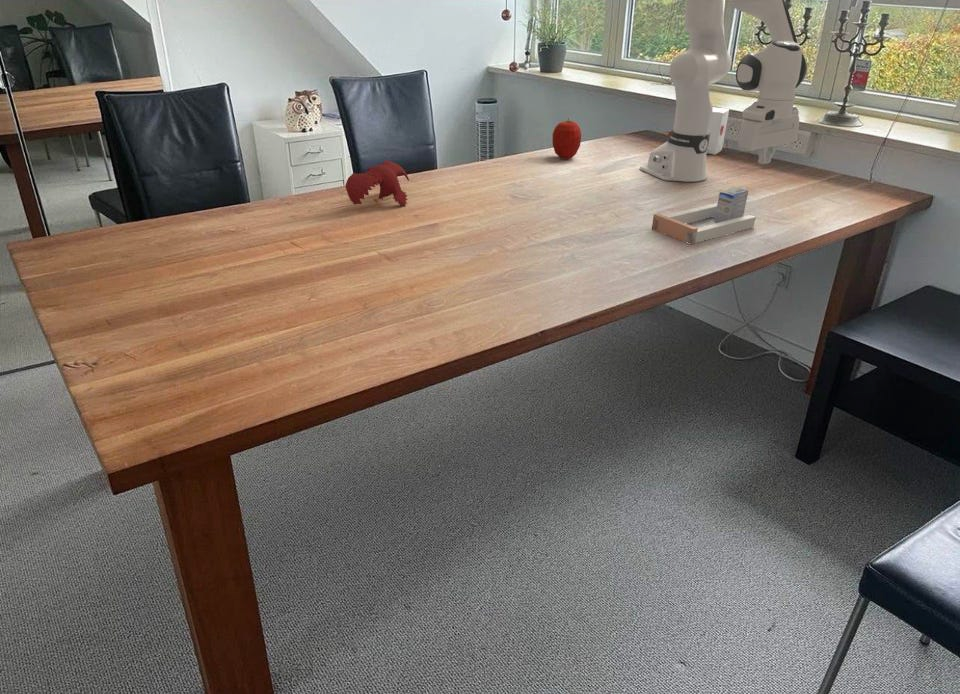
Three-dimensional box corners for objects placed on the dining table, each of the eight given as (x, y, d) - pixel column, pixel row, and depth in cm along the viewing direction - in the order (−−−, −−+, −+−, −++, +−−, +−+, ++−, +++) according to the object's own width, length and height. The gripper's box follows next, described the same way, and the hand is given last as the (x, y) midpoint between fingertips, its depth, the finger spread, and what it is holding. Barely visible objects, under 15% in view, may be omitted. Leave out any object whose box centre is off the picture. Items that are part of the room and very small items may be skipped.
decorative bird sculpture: (416, 205, 214) (386, 164, 212) (435, 188, 208) (405, 146, 207) (363, 233, 192) (329, 188, 190) (383, 215, 186) (348, 168, 184)
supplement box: (715, 155, 255) (722, 112, 248) (691, 151, 260) (697, 109, 252) (722, 150, 262) (730, 108, 255) (699, 146, 266) (705, 105, 259)
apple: (551, 154, 253) (554, 114, 247) (579, 155, 252) (583, 115, 245) (550, 161, 244) (552, 120, 238) (579, 162, 243) (582, 121, 237)
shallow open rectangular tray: (651, 228, 185) (653, 214, 183) (713, 213, 196) (716, 199, 194) (690, 244, 175) (693, 229, 173) (753, 227, 187) (756, 213, 185)
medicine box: (727, 216, 194) (733, 186, 190) (742, 220, 192) (749, 189, 187) (713, 223, 190) (719, 191, 185) (728, 227, 187) (734, 195, 183)
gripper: (788, 104, 189) (778, 155, 195) (738, 111, 179) (729, 166, 185) (809, 107, 184) (798, 160, 191) (759, 115, 174) (749, 171, 181)
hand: (764, 163), depth 188 cm, fingers closed
